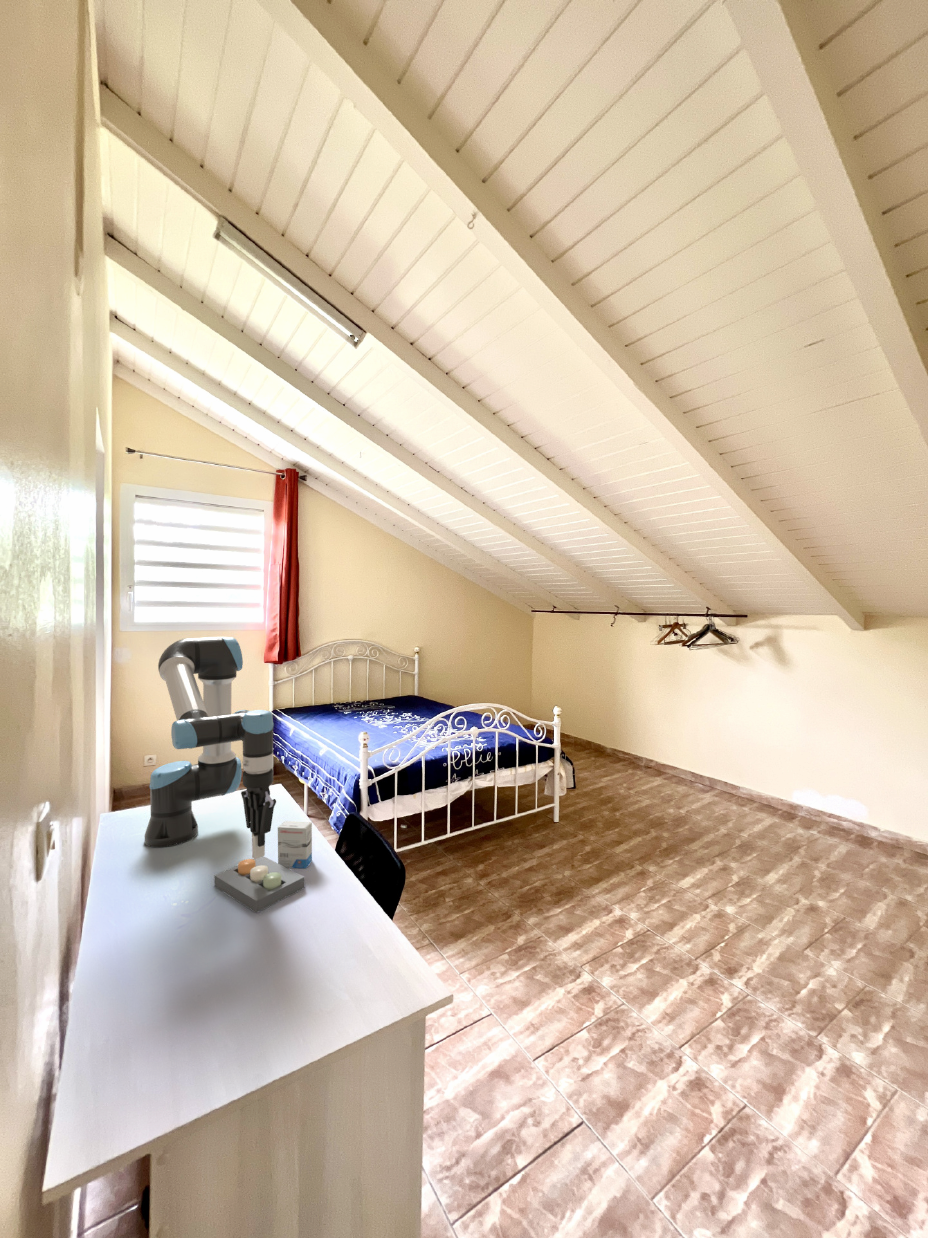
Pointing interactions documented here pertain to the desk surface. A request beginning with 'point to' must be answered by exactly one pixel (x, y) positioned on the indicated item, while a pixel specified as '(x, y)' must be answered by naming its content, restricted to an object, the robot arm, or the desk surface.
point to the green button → (271, 880)
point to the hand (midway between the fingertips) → (258, 856)
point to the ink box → (295, 844)
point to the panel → (259, 885)
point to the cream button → (258, 873)
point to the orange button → (245, 866)
